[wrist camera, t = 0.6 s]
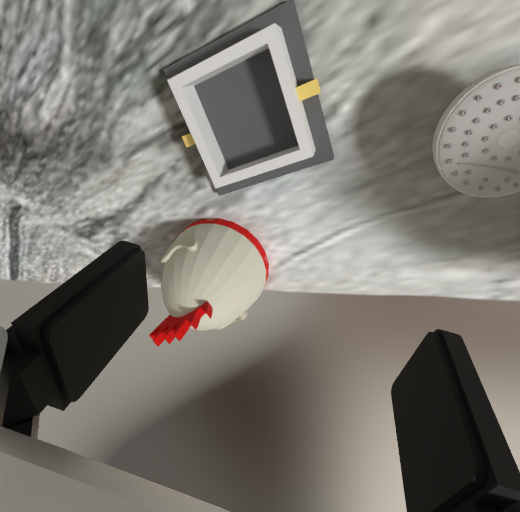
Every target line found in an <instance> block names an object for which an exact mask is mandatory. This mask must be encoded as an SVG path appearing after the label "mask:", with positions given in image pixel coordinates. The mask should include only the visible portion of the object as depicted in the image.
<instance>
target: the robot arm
mask: <svg viewBox="0 0 520 512" xmlns="http://www.w3.org/2000/svg"><path fill="white" fill-rule="evenodd" d="M148 308H149V307H148V293H147V279H146V265H145V253H144V251H142V250H141V247H140V246H139V245H137V244H134V243H130V242H127V241H119V242H118V243H116V244H115V245H114V246H112V247H111V248H110V249H109V250H107V251H106V252H105V253H103V254H102V255H101V256H99V257H98V258H97V259H95V260H94V261H93V262H91V263H90V264H89V265H87V266H86V267H85V268H83V269H82V270H81V271H79V272H78V273H77V274H75V275H74V276H73V277H71V278H70V279H69V280H67V281H66V282H65V283H63V284H62V285H61V286H59V287H58V288H57V289H55V290H54V291H53V292H51V293H50V294H49V295H47V296H46V297H45V298H43V299H42V300H41V301H39V302H38V303H37V304H36V305H34V306H33V307H32V308H30V309H29V310H27V311H26V312H25V313H23V314H22V315H21V316H20V317H18V318H17V319H15V320H14V321H13V322H11V324H12V326H11V327H10V328H9V329H7V330H5V329H4V328H3V327H0V512H230V511H227V510H225V509H222V508H219V507H217V506H214V505H211V504H209V503H206V502H203V501H201V500H198V499H196V498H193V497H190V496H188V495H185V494H182V493H180V492H177V491H175V490H172V489H169V488H167V487H164V486H161V485H159V484H156V483H154V482H151V481H148V480H146V479H143V478H140V477H138V476H135V475H132V474H130V473H127V472H124V471H122V470H119V469H116V468H114V467H111V466H108V465H106V464H103V463H100V462H98V461H95V460H92V459H90V458H87V457H84V456H82V455H79V454H76V453H74V452H71V451H68V450H66V449H63V448H60V447H57V446H55V445H52V444H49V443H46V442H43V441H41V440H38V439H37V438H38V427H39V416H40V415H39V414H40V412H41V411H42V410H43V409H44V408H45V407H46V406H47V405H49V406H51V407H54V408H57V409H60V410H62V411H64V410H65V409H66V407H67V406H68V405H69V404H70V403H71V402H75V401H77V400H78V399H79V398H80V397H81V396H82V394H83V393H84V392H85V391H86V390H87V388H88V387H89V386H90V385H91V384H92V382H93V381H94V380H95V378H96V377H97V376H98V375H99V374H100V373H101V371H102V370H103V369H104V368H105V366H106V365H107V364H108V363H109V361H110V360H111V359H112V358H113V357H114V355H115V354H116V353H117V352H118V350H119V349H120V348H121V347H122V346H123V344H124V343H125V342H126V341H127V339H128V338H129V337H130V336H131V334H132V333H133V332H134V331H135V330H136V328H137V327H138V326H139V325H140V323H141V322H142V321H143V320H144V319H145V317H146V315H147V313H148ZM391 395H392V404H393V411H394V419H395V426H396V434H397V441H398V448H399V455H400V463H401V471H402V478H403V485H404V493H405V500H406V508H407V512H520V472H519V470H518V467H517V465H516V463H515V460H514V458H513V456H512V454H511V451H510V449H509V447H508V444H507V442H506V439H505V437H504V435H503V432H502V430H501V428H500V425H499V423H498V421H497V418H496V416H495V414H494V411H493V409H492V407H491V404H490V402H489V400H488V397H487V395H486V393H485V390H484V388H483V385H482V383H481V381H480V378H479V376H478V374H477V371H476V369H475V367H474V365H473V362H472V360H471V357H470V355H469V353H468V351H467V348H466V346H465V344H464V341H463V339H462V337H461V336H460V335H458V334H454V333H451V332H448V331H444V330H440V329H437V330H435V331H434V332H429V333H428V334H427V335H426V336H425V338H424V339H423V341H422V342H421V344H420V345H419V346H418V348H417V349H416V351H415V352H414V354H413V355H412V357H411V358H410V360H409V361H408V362H407V364H406V365H405V367H404V368H403V370H402V371H401V373H400V374H399V376H398V377H397V379H396V380H395V381H394V383H393V385H392V389H391Z"/></svg>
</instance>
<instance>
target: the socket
mask: <svg viewBox="0 0 520 512" xmlns="http://www.w3.org/2000/svg"><path fill="white" fill-rule="evenodd" d="M163 71H164V73H165V75H166V78H167V81H168V83H169V86H170V88H171V90H172V92H173V94H174V97H175V99H176V101H177V103H178V106H179V108H180V110H181V112H182V115H183V117H184V119H185V121H186V124H187V126H188V128H189V130H190V133H189V134H186V135H184V136H182V138H183V141H184V143H185V145H186V147H189V146H192V145H194V144H196V146H197V148H198V150H199V153H200V155H201V157H202V159H203V162H204V164H205V166H206V168H207V171H208V173H209V175H210V177H211V180H212V182H213V184H214V186H215V189H216V190H217V192H218V194H219V196H220V195H223V194H226V193H229V192H232V191H235V190H238V189H242V188H245V187H248V186H251V185H254V184H257V183H261V182H264V181H267V180H270V179H273V178H276V177H279V176H283V175H286V174H289V173H292V172H295V171H298V170H301V169H305V168H308V167H311V166H314V165H317V164H320V163H324V162H327V161H330V160H333V159H334V155H333V151H332V147H331V143H330V139H329V135H328V131H327V128H326V124H325V120H324V116H323V112H322V108H321V104H320V100H319V97H318V94H319V93H321V90H320V86H319V83H318V79H315V80H314V77H313V73H312V69H311V66H310V62H309V58H308V54H307V50H306V46H305V42H304V38H303V35H302V31H301V27H300V23H299V19H298V15H297V11H296V7H295V3H294V0H289V1H287V2H285V3H283V4H281V5H280V6H278V7H276V8H274V9H272V10H271V11H269V12H267V13H265V14H263V15H261V16H260V17H258V18H256V19H254V20H252V21H251V22H249V23H247V24H245V25H243V26H241V27H240V28H238V29H236V30H234V31H232V32H231V33H229V34H227V35H225V36H223V37H222V38H220V39H218V40H216V41H214V42H212V43H211V44H209V45H207V46H205V47H203V48H202V49H200V50H198V51H196V52H194V53H192V54H191V55H189V56H187V57H185V58H183V59H182V60H180V61H178V62H176V63H174V64H173V65H171V66H169V67H167V68H165V69H163Z"/></svg>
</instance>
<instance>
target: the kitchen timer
mask: <svg viewBox="0 0 520 512" xmlns="http://www.w3.org/2000/svg"><path fill="white" fill-rule="evenodd" d="M160 262H161V263H164V264H165V265H164V268H163V274H162V281H161V289H162V295H163V300H164V304H165V306H166V308H167V310H168V312H169V314H170V315H169V316H168V317H167V318H166V319H165V320H164V321H163V322H162V323H161V324H160V325H159V326H158V327H157V328H156V329H155V330H154V331H153V332H152V333H151V334H150V337H151V338H152V339H153V342H154V343H155V344H156V345H157V346H159V345H160V344H161V343H162V342H163V341H164V340H166V341H167V342H168V343H169V344H170V343H171V342H172V340H173V339H174V338H175V337H176V338H177V339H178V340H179V341H180V340H181V339H182V338H183V336H184V335H185V333H186V332H187V331H188V329H194V330H209V329H216V330H218V329H222V328H224V327H226V326H227V325H229V324H230V323H232V322H235V321H241V320H243V319H244V318H245V317H246V316H247V314H248V311H247V309H248V308H249V307H250V306H251V305H252V304H253V303H254V302H255V301H256V300H257V298H258V297H259V296H260V294H261V292H262V290H263V288H264V285H265V283H266V280H267V278H268V269H269V263H268V260H267V256H266V253H265V251H264V249H263V248H262V246H261V244H260V243H259V241H258V240H257V239H256V238H255V237H254V236H253V235H252V234H251V233H250V232H249V231H248V230H247V229H245V228H243V227H241V226H239V225H238V224H236V223H234V222H231V221H227V220H223V219H219V218H218V219H203V220H200V221H197V222H194V223H192V224H191V225H190V226H189V227H187V228H186V229H185V230H184V231H183V232H182V233H181V234H180V235H179V236H178V237H177V239H176V240H175V241H174V242H173V244H172V245H171V246H170V247H169V249H168V250H167V251H166V253H165V254H164V256H163V258H162V259H161V261H160Z"/></svg>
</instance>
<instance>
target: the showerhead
mask: <svg viewBox="0 0 520 512" xmlns="http://www.w3.org/2000/svg"><path fill="white" fill-rule="evenodd" d="M432 152H433V159H434V163H435V165H436V168H437V170H438V171H439V173H440V174H441V176H442V177H443V178H444V180H445V181H446V182H447V183H448V184H449V185H450V186H451V187H453V188H454V189H456V190H457V191H459V192H461V193H464V194H466V195H470V196H474V197H482V198H494V197H502V196H507V195H511V194H515V193H518V192H520V65H516V66H510V67H506V68H503V69H499V70H497V71H494V72H492V73H489V74H487V75H485V76H483V77H482V78H480V79H478V80H476V81H475V82H474V83H472V84H471V85H469V86H468V87H467V88H465V89H464V90H463V91H462V92H461V93H460V94H459V95H458V96H457V97H456V98H455V99H454V100H453V101H452V102H451V103H450V105H449V106H448V107H447V109H446V110H445V112H444V113H443V115H442V117H441V118H440V120H439V123H438V125H437V127H436V130H435V133H434V138H433V145H432Z"/></svg>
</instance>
